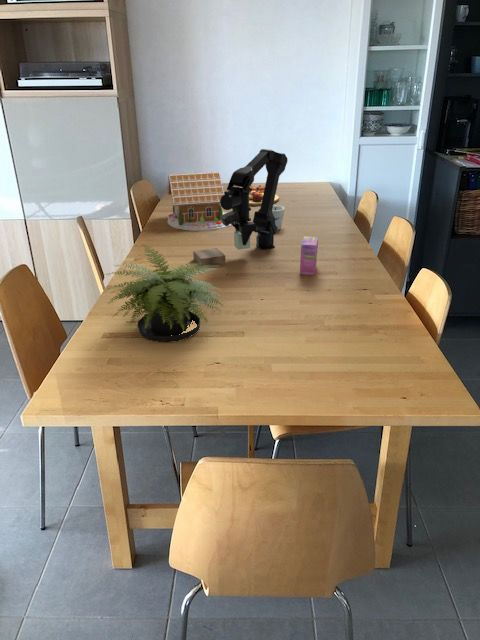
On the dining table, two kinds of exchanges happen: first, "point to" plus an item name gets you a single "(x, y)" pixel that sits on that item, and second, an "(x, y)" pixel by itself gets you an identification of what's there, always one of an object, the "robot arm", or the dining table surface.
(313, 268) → the box
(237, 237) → the green block
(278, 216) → the white cup
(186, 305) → the fern plant
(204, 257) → the walnut base
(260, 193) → the wooden plate with food
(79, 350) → the dining table surface
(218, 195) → the gingerbread house
